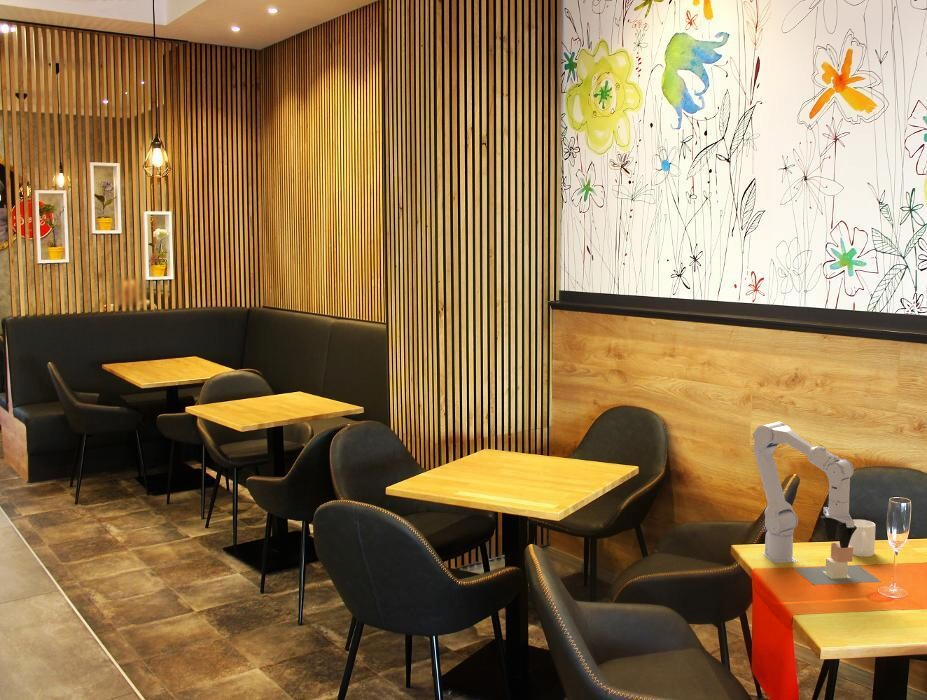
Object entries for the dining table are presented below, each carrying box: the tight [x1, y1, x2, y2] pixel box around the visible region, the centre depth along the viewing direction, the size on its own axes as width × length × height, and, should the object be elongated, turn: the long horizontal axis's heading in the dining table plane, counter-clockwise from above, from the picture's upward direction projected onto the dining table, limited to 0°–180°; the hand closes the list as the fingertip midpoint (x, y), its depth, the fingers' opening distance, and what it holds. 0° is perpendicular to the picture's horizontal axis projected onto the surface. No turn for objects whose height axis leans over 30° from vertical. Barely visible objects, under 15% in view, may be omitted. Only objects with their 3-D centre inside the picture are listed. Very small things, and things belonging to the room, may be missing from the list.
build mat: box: [792, 564, 882, 586], centre depth 283 cm, size 14×21×1 cm, turn 95°
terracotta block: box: [830, 542, 854, 563], centre depth 283 cm, size 4×4×4 cm
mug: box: [849, 519, 876, 558], centre depth 300 cm, size 12×8×10 cm
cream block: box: [825, 557, 849, 578], centre depth 283 cm, size 4×4×4 cm
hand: (837, 543), depth 282 cm, fingers open, 7 cm apart
